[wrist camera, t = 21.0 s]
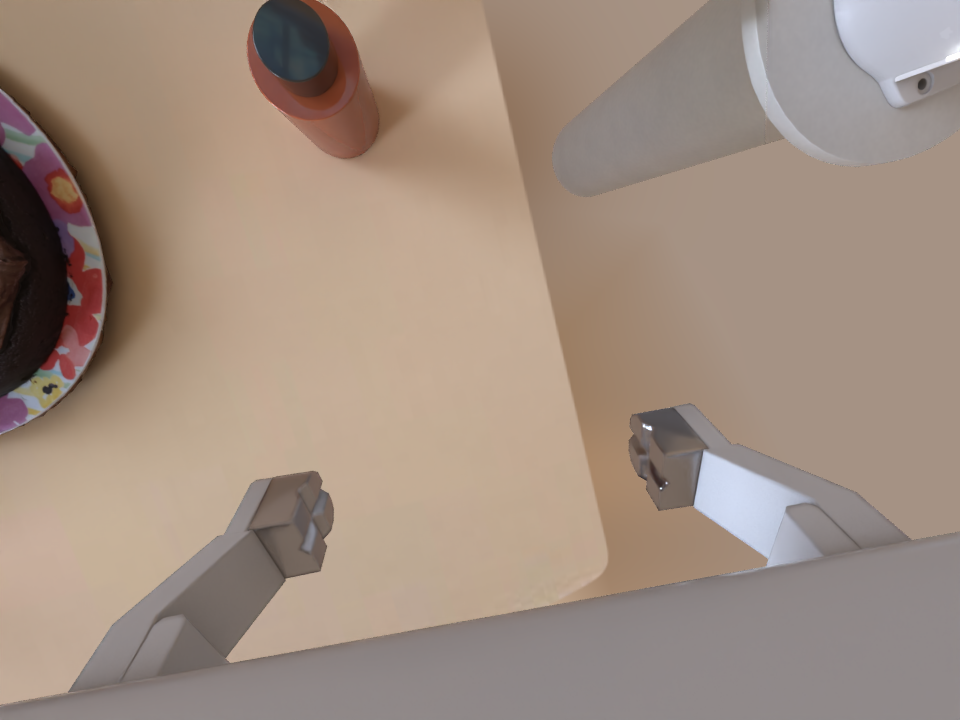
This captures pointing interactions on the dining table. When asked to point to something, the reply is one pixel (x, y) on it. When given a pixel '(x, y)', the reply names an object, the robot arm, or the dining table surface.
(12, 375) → the chocolate cake
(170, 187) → the dining table surface
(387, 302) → the dining table surface
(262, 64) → the orange bottle
